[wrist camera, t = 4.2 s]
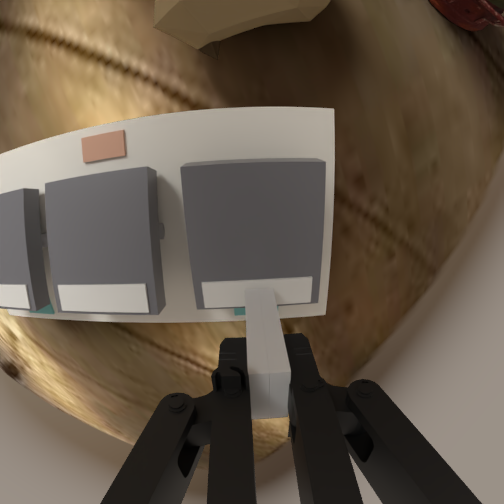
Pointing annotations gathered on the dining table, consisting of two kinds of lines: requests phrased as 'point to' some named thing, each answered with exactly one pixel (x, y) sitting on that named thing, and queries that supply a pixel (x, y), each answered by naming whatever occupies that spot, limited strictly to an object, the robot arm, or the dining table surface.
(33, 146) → the console
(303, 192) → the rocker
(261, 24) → the low-poly potato
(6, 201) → the rocker
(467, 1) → the lantern
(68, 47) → the dining table surface
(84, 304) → the rocker middle
